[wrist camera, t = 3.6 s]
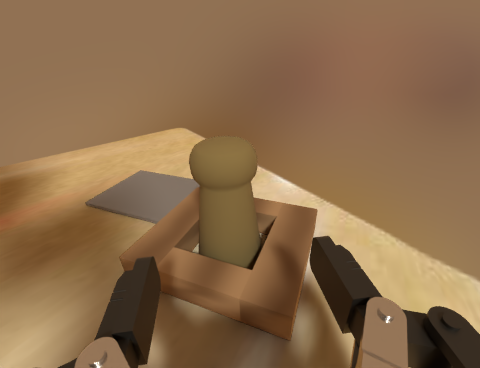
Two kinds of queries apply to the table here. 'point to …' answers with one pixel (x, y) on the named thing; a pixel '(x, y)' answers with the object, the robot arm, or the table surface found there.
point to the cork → (226, 200)
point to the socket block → (231, 276)
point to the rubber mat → (145, 195)
